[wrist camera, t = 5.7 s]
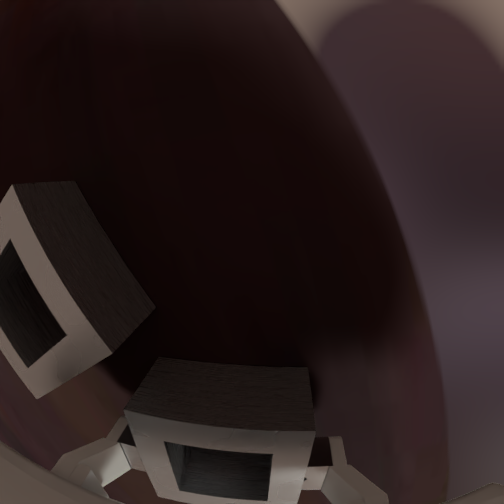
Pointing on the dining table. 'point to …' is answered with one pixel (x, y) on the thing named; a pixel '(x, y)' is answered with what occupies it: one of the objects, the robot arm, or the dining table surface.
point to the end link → (223, 431)
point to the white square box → (61, 286)
